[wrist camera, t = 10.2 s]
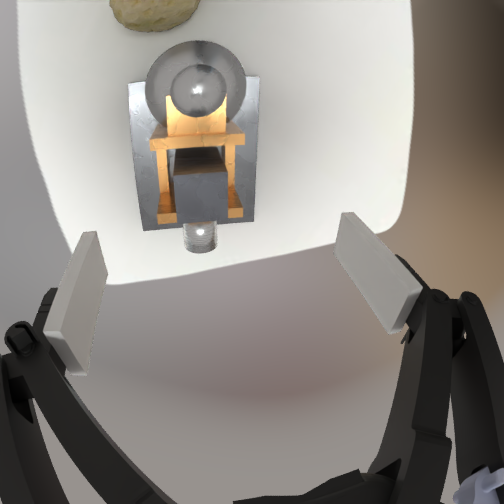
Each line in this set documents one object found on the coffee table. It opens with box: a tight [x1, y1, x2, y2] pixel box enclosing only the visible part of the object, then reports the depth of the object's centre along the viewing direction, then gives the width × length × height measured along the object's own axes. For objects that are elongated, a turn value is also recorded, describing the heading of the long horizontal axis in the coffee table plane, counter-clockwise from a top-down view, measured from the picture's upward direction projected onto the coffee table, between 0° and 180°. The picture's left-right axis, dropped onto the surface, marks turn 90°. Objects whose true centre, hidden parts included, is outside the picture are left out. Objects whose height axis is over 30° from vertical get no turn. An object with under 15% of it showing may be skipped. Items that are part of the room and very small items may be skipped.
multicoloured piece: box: [128, 41, 260, 253], centre depth 27 cm, size 22×14×12 cm, turn 178°
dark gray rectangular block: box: [173, 146, 228, 224], centre depth 27 cm, size 4×4×12 cm
